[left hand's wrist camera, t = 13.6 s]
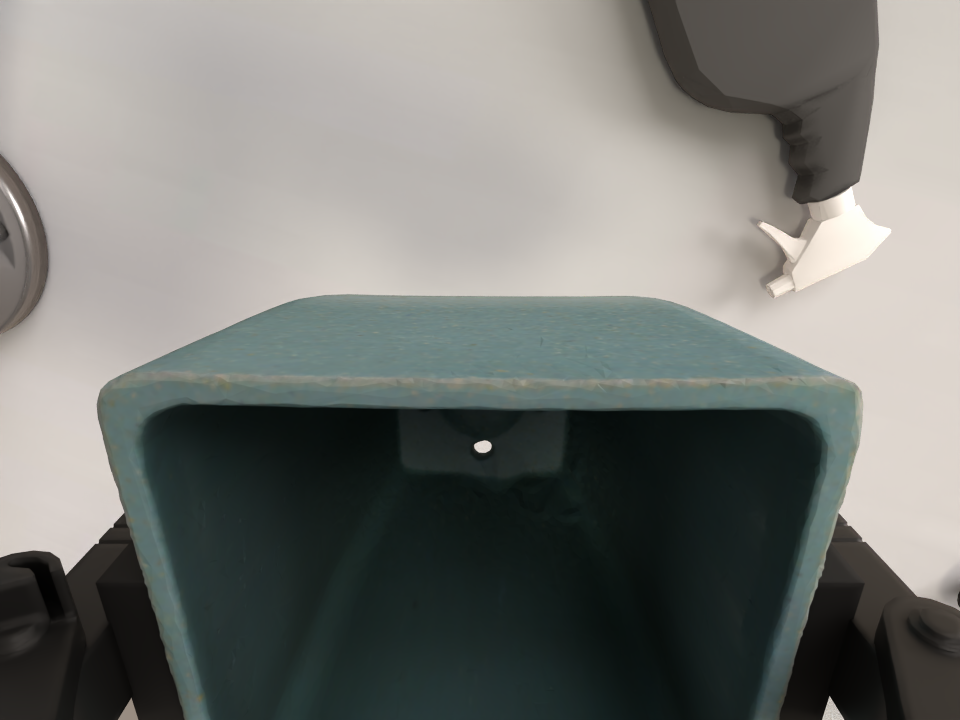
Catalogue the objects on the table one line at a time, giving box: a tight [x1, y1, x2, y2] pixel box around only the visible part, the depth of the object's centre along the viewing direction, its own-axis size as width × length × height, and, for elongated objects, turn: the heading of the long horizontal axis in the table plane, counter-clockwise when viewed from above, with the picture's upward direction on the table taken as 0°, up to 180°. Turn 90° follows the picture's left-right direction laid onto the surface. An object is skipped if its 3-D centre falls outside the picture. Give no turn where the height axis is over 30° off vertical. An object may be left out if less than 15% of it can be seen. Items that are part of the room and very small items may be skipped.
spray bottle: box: [648, 0, 891, 298], centre depth 32 cm, size 3×11×25 cm
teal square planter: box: [97, 294, 863, 720], centre depth 12 cm, size 9×9×9 cm
